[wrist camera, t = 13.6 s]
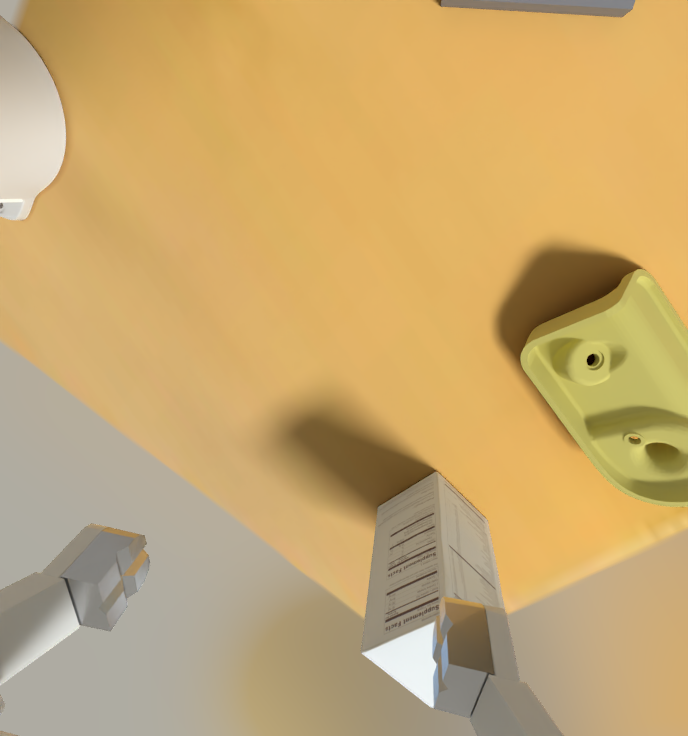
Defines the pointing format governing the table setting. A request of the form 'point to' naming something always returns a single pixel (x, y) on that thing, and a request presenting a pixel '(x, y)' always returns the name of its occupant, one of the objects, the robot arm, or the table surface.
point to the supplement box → (424, 577)
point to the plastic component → (621, 386)
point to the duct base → (550, 6)
